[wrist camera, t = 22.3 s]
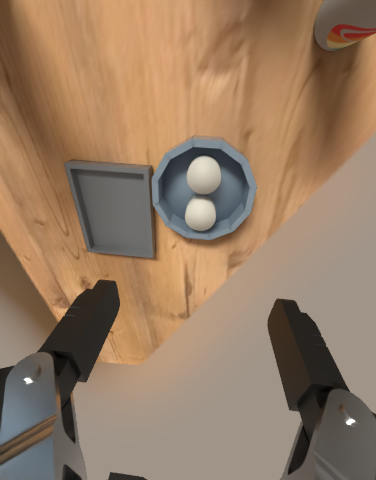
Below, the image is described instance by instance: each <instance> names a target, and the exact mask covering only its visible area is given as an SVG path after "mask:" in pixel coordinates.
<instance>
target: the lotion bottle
mask: <svg viewBox="0 0 376 480" xmlns="http://www.w3.org/2000/svg"><path fill="white" fill-rule="evenodd" d="M314 32H315V38H316V41H317V43H318V44H319V46H320V47H321V48H323V49H324V50H328V51H336V50H339V49H342V48H345V47H347V46H349V45H351V44H354V43H356V42H358V41H360V40H362V39H364V38H366V37H369V36H371V35H373V34H375V33H376V0H324V2H323V3H322V5H321V7H320V9H319V11H318V14H317V17H316V20H315V27H314Z"/></svg>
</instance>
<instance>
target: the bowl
mask: <svg viewBox="0 0 376 480" xmlns="http://www.w3.org/2000/svg"><path fill="white" fill-rule="evenodd" d="M200 154H210V155H212V156H214V157H215V158H216V159H217V161H218V163H219V166H220V171H221V182H220V184H219V186H218V188H217V189H216V190H215V191H213V192H211V193H209V194H208V195H209V196H211V197H212V198H213V200H214V202H215V211H216V220H215V223H214V224H213V226H212V227H211V228H209V229H207V230H204V231H197V230H194V229H192V228H190V227H189V226H188V224H187V223H186V221H185V213H186V209H187V204H188V201H189V199H190V198H191V197H192V196H193V195H195V194H198V193H196V192H194V191H193V190H192V189H191V188H190V187H189V185H188V183H187V172H188V169H189V166H190V163H191V161H192V160H193V159H194V158H195V157H196V156H198V155H200ZM256 189H257V186H256V183H255V180H254V177H253V174H252V171H251V168H250V165H249V162H248V160H247V158H246V157H245V156H244V154H243V153H242V152H240V151H239V150H238V149H236V148H235V147H234V146H232V145H231V144H230V143H229V142H227V141H226V140H225V139H223V138H222V137H210V136H195V135H194V136H192V137H190V138H189V139H187V140H185V141H183V142H181V143H180V144H178V145H176V146H174V147H173V148H171V149H170V150H169V151H168V152H166V153H165V155H164V157H163V158H162V160H161V162H160V164H159V166H158V168H157V170H156V171H155V173H154V175H153V177H152V198H153V206H154V207H155V209H156V211H157V212H158V214H159V215H160V217H161V219H162V220H163V222H164V223H165V225H166V226H167V227H169V228H171V229H172V230H174V231H176V232H177V233H179V234H181V235H182V236H184V237H187V238H193V239H204V240H212V239H215V238H217V237H220V236H223V235H225V234H228V233H231V232H233V231H234V230H235V229H236V228H237V227H238V226H239V225H240V224H241V223H242V222H243V221H244V220H245V218H246V217H247V216H248V215H249V214H250V213H251V210H252V205H253V201H254V197H255V193H256Z"/></svg>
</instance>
